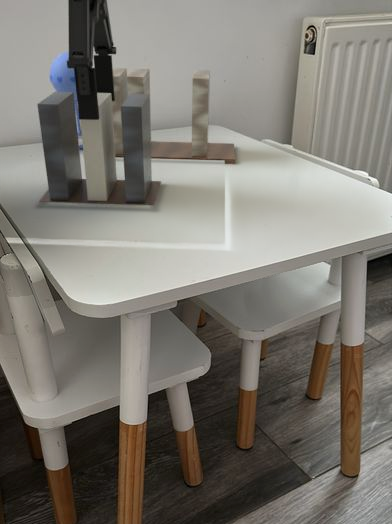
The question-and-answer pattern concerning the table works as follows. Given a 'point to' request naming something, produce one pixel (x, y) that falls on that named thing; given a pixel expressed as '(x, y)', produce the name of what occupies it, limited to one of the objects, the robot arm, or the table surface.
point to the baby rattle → (65, 81)
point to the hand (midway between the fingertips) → (98, 109)
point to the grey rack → (68, 157)
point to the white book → (100, 151)
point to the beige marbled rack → (200, 119)
